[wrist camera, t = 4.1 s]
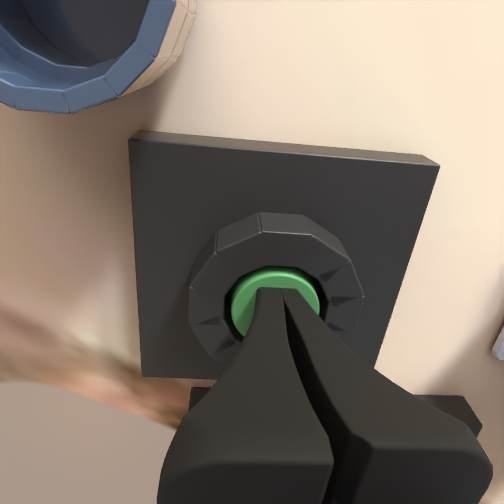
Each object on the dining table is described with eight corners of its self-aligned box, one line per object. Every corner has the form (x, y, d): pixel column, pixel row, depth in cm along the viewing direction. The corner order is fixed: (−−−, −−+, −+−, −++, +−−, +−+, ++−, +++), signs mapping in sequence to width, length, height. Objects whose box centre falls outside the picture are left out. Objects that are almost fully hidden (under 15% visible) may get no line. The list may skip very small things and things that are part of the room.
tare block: (422, 154, 14) (467, 180, 11) (359, 362, 18) (380, 415, 16) (137, 129, 13) (113, 150, 10) (148, 354, 17) (132, 408, 15)
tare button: (318, 254, 14) (327, 277, 12) (304, 321, 15) (311, 348, 14) (234, 249, 13) (234, 271, 12) (228, 317, 15) (228, 344, 13)
